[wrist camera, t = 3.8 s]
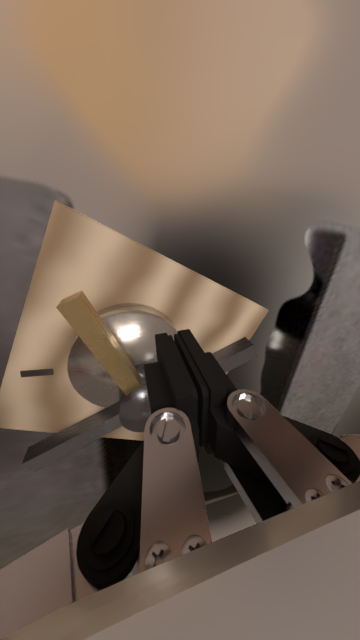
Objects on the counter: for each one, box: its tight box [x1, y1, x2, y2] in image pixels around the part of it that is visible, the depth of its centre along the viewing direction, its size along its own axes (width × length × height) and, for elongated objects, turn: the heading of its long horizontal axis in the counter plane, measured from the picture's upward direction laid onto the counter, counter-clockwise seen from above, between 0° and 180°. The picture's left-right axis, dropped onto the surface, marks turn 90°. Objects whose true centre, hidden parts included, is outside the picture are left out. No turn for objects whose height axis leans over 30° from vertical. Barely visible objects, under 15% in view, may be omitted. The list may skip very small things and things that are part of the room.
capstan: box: [22, 290, 257, 472], centre depth 22 cm, size 24×24×7 cm
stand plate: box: [0, 201, 269, 441], centre depth 26 cm, size 26×26×2 cm
